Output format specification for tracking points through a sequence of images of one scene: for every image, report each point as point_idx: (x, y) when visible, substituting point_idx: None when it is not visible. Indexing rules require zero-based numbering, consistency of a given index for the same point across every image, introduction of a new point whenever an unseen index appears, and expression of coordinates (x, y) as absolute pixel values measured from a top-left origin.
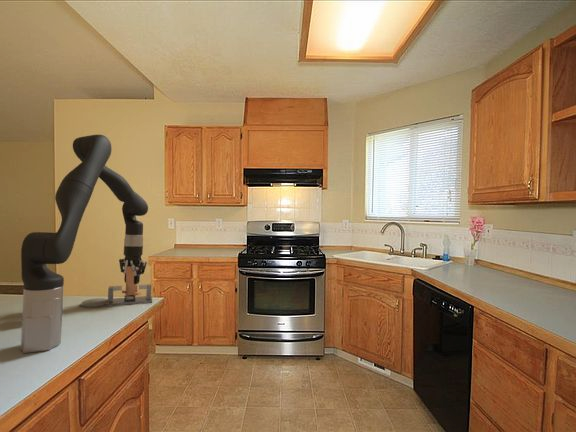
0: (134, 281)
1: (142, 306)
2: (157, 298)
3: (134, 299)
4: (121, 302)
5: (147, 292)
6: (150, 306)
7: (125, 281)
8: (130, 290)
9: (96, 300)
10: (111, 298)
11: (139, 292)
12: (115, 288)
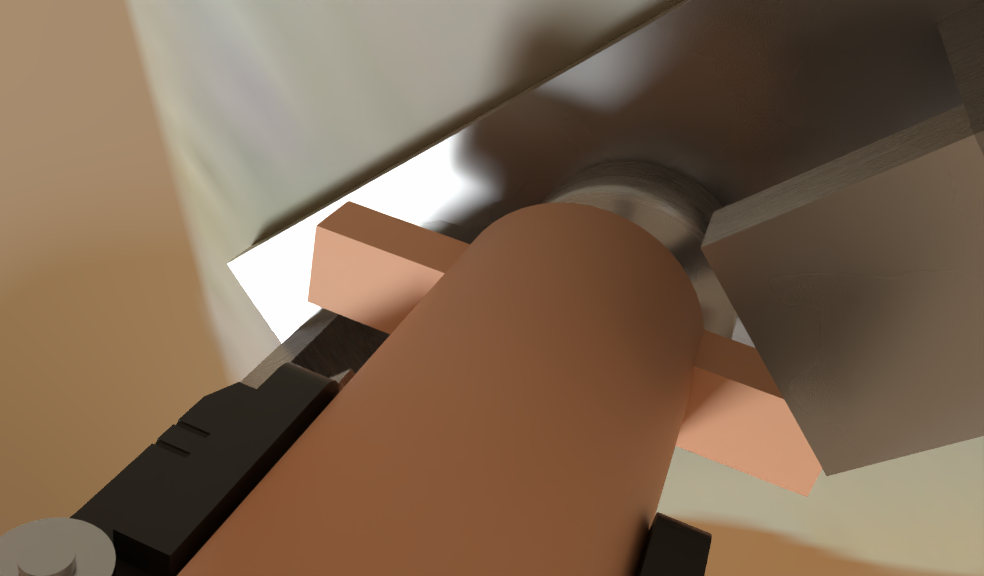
0: (268, 409)
1: (252, 5)
2: None
3: None
4: (687, 26)
5: (263, 380)
6: (140, 36)
7: (673, 539)
8: (482, 258)
9: None
10: (977, 28)
11: (313, 268)
12: (892, 165)
